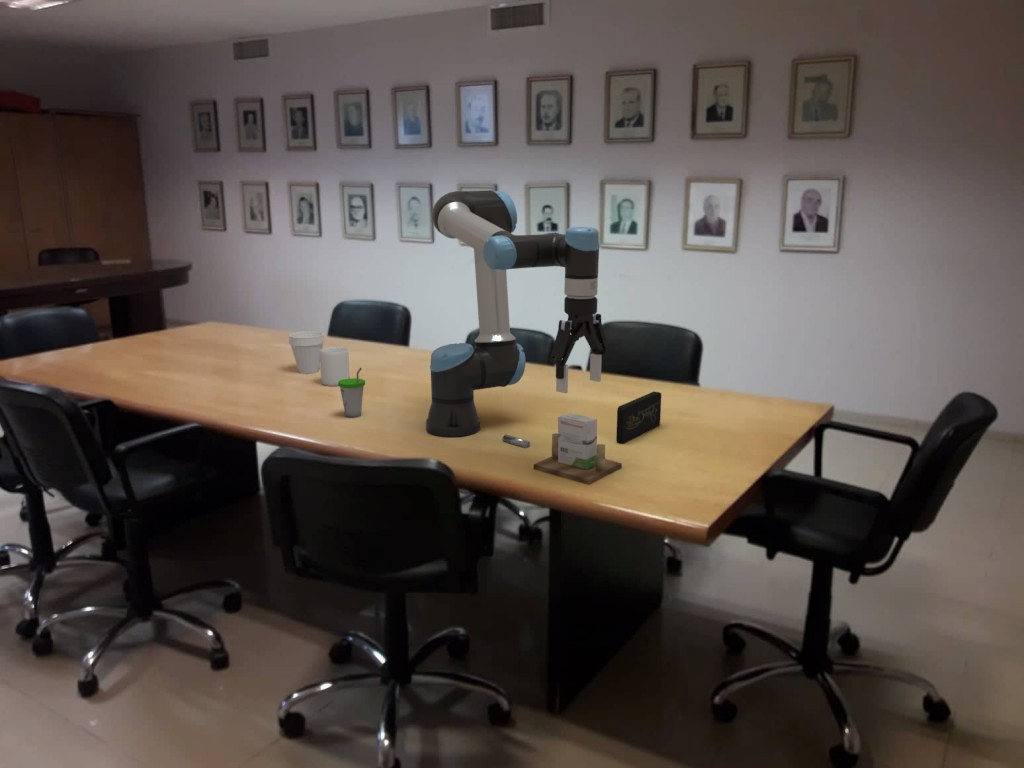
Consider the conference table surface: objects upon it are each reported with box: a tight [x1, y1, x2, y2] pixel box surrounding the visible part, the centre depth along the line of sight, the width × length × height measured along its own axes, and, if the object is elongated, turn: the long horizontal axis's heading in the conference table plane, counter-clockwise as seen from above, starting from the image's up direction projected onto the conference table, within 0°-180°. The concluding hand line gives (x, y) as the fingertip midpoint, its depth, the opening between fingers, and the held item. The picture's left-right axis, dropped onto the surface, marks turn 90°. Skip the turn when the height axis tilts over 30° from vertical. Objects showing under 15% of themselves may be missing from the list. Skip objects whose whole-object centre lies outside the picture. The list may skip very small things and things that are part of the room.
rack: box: [533, 432, 623, 485], centre depth 194 cm, size 16×14×7 cm
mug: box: [319, 346, 351, 387], centre depth 275 cm, size 10×12×12 cm
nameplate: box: [615, 391, 662, 444], centre depth 220 cm, size 21×2×10 cm, turn 142°
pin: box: [502, 434, 531, 449], centre depth 213 cm, size 8×2×2 cm
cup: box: [337, 367, 366, 419], centre depth 237 cm, size 8×8×15 cm
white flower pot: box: [288, 330, 325, 375], centre depth 291 cm, size 12×12×14 cm
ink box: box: [557, 412, 598, 470], centre depth 193 cm, size 9×5×12 cm, turn 50°
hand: (579, 386), depth 190 cm, fingers open, 13 cm apart
